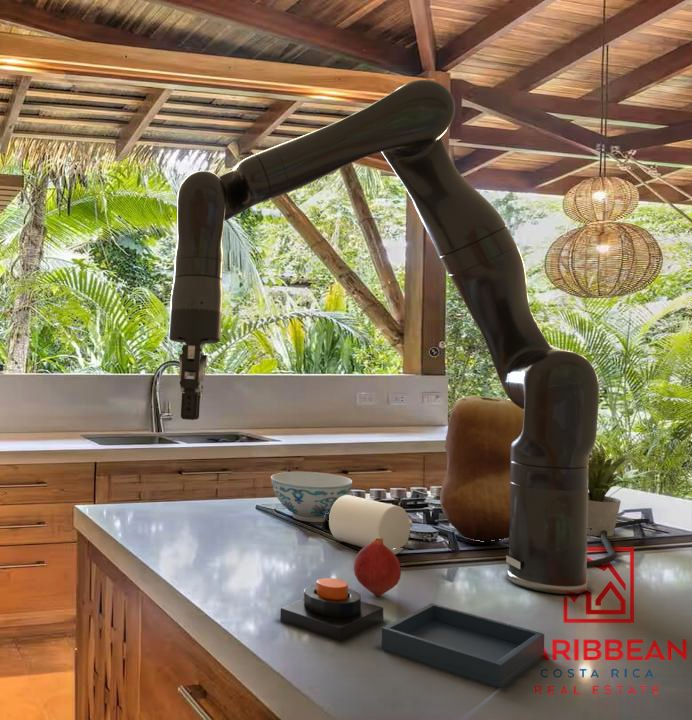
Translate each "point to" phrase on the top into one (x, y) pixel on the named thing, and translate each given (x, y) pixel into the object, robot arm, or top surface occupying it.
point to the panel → (332, 614)
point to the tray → (464, 643)
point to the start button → (332, 588)
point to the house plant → (603, 492)
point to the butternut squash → (480, 467)
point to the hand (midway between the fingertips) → (190, 419)
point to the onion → (377, 567)
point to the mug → (369, 522)
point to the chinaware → (309, 493)
